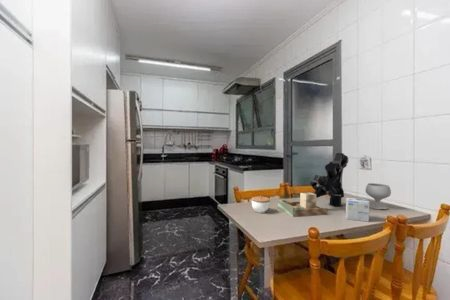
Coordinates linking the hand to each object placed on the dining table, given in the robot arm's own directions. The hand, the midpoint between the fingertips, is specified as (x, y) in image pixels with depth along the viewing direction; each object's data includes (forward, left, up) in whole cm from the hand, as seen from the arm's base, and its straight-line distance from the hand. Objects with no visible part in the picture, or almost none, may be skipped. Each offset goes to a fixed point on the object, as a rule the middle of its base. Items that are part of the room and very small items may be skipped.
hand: (313, 198), depth 144 cm
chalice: (-47, +2, -8) cm, 48 cm away
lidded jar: (+33, -4, -8) cm, 34 cm away
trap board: (+8, 0, -8) cm, 11 cm away
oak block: (+4, 0, -5) cm, 6 cm away
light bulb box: (-14, +19, -8) cm, 25 cm away
